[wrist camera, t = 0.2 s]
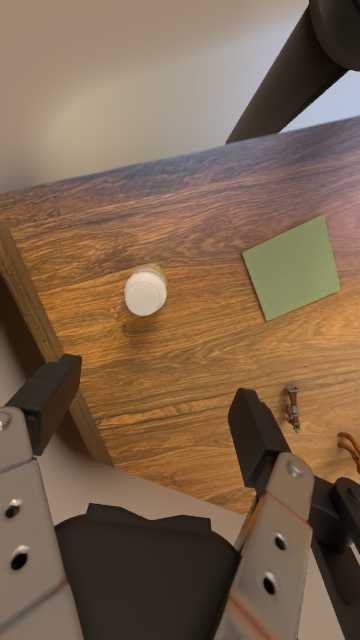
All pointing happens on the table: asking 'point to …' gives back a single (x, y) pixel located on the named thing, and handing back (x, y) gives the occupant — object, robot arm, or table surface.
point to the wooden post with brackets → (293, 409)
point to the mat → (293, 268)
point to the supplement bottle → (146, 290)
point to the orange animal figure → (358, 448)
